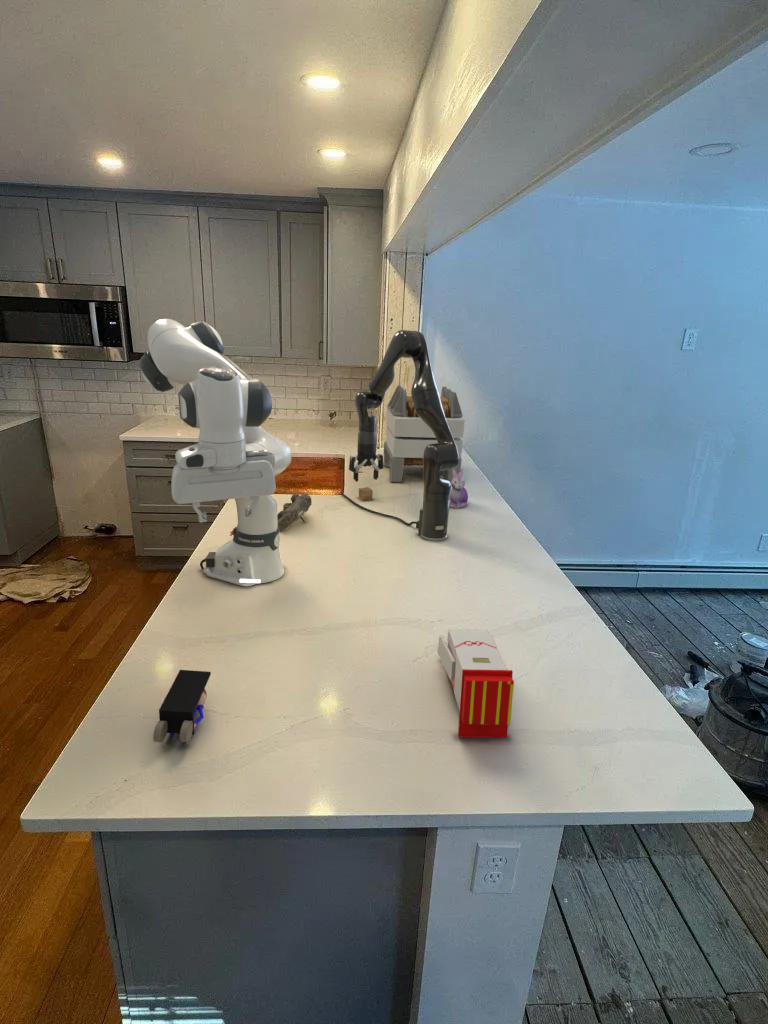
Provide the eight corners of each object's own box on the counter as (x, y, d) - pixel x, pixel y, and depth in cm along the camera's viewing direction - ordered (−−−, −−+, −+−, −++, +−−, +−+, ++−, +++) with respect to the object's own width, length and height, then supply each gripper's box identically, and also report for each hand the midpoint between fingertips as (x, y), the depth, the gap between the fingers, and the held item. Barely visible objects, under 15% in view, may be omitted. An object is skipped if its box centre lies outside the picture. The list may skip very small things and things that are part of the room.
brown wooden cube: (372, 499, 234) (372, 490, 233) (362, 501, 232) (363, 491, 231) (367, 496, 238) (368, 487, 236) (358, 497, 236) (358, 488, 234)
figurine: (454, 509, 226) (458, 473, 221) (440, 502, 235) (443, 467, 229) (474, 507, 230) (477, 471, 225) (459, 499, 239) (463, 465, 234)
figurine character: (193, 760, 99) (215, 697, 113) (188, 728, 96) (211, 667, 109) (154, 759, 99) (181, 696, 113) (148, 727, 96) (176, 666, 109)
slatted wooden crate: (382, 463, 289) (386, 382, 275) (445, 464, 293) (451, 384, 279) (390, 482, 257) (394, 392, 243) (460, 483, 261) (468, 394, 247)
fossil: (280, 499, 216) (309, 478, 211) (296, 518, 219) (326, 498, 214) (263, 525, 196) (295, 503, 191) (282, 546, 199) (314, 524, 194)
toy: (488, 613, 130) (523, 677, 101) (484, 667, 133) (517, 744, 104) (435, 612, 130) (455, 676, 101) (432, 666, 133) (451, 743, 103)
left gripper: (270, 445, 118) (272, 508, 123) (166, 452, 110) (172, 519, 114) (279, 453, 113) (280, 517, 118) (171, 460, 104) (177, 530, 109)
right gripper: (379, 438, 233) (377, 476, 238) (347, 440, 227) (346, 479, 232) (387, 442, 226) (385, 481, 232) (354, 444, 220) (353, 484, 226)
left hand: (226, 518), depth 116 cm, fingers open, 8 cm apart
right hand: (365, 480), depth 232 cm, fingers open, 8 cm apart
